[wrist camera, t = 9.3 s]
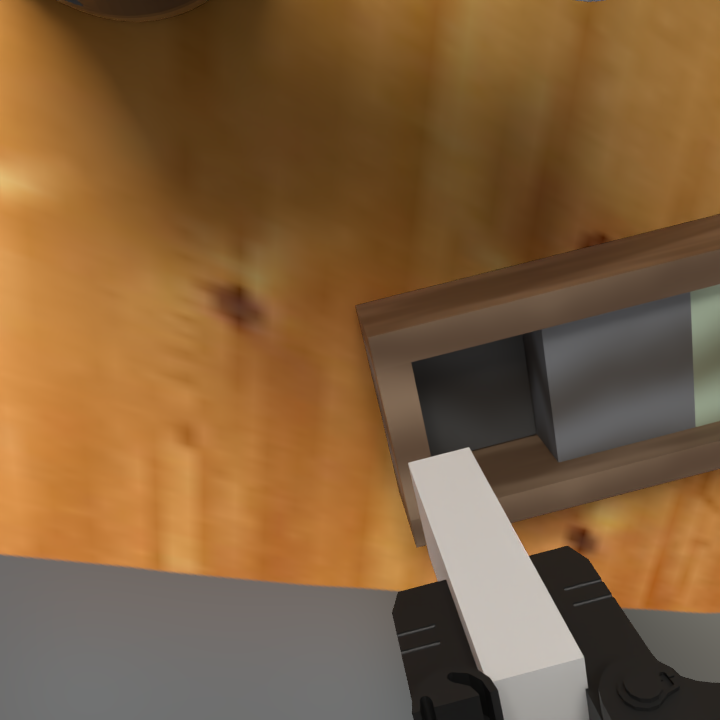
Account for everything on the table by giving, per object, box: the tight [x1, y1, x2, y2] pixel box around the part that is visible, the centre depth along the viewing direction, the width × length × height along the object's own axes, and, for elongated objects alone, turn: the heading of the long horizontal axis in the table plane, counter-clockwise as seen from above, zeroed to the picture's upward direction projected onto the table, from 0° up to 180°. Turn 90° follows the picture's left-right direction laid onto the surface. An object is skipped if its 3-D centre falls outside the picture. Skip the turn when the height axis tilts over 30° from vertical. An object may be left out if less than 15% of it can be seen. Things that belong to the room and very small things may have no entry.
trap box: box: [355, 214, 720, 547], centre depth 43 cm, size 14×38×6 cm, turn 103°
